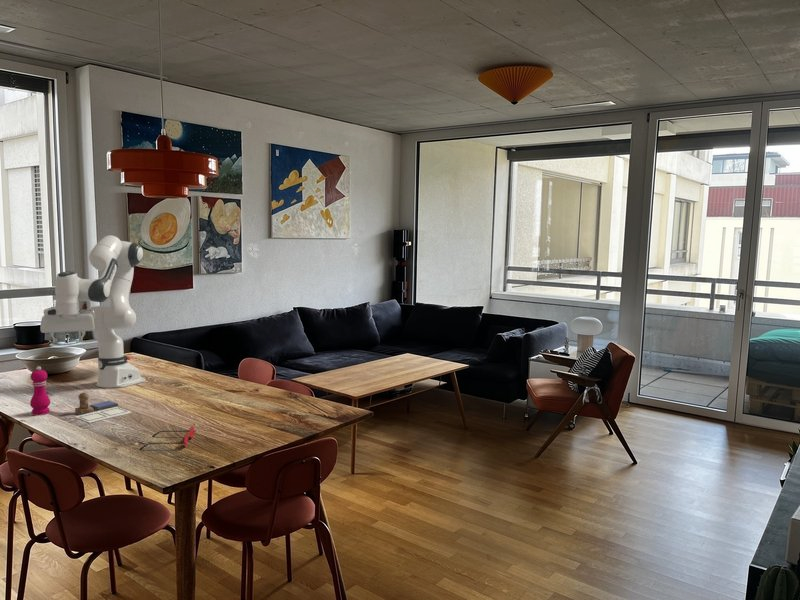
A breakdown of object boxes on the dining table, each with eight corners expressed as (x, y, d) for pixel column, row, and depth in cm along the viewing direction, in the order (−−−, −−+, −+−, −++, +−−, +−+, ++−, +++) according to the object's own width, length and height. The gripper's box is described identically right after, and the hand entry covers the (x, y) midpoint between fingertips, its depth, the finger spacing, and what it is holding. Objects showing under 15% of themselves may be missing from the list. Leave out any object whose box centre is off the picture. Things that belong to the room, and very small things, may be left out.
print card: (116, 407, 262) (116, 406, 262) (131, 412, 255) (131, 411, 255) (74, 417, 248) (74, 416, 248) (89, 423, 241) (89, 422, 241)
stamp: (87, 409, 258) (86, 390, 258) (93, 412, 256) (92, 392, 255) (75, 412, 254) (74, 392, 253) (81, 414, 252) (80, 394, 251)
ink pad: (109, 403, 269) (109, 400, 268) (118, 406, 264) (118, 403, 264) (89, 407, 261) (89, 404, 261) (97, 410, 257) (97, 407, 257)
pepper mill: (30, 416, 247) (27, 368, 245) (31, 411, 254) (29, 365, 252) (50, 414, 251) (48, 367, 248) (51, 409, 257) (49, 363, 255)
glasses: (186, 450, 215) (186, 436, 215) (138, 450, 214) (138, 437, 214) (196, 437, 229) (196, 424, 229) (151, 437, 228) (151, 424, 227)
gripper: (94, 308, 264) (94, 339, 265) (39, 309, 253) (40, 342, 255) (95, 310, 259) (96, 341, 260) (40, 311, 248) (40, 344, 249)
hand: (68, 342), depth 257 cm, fingers open, 8 cm apart
